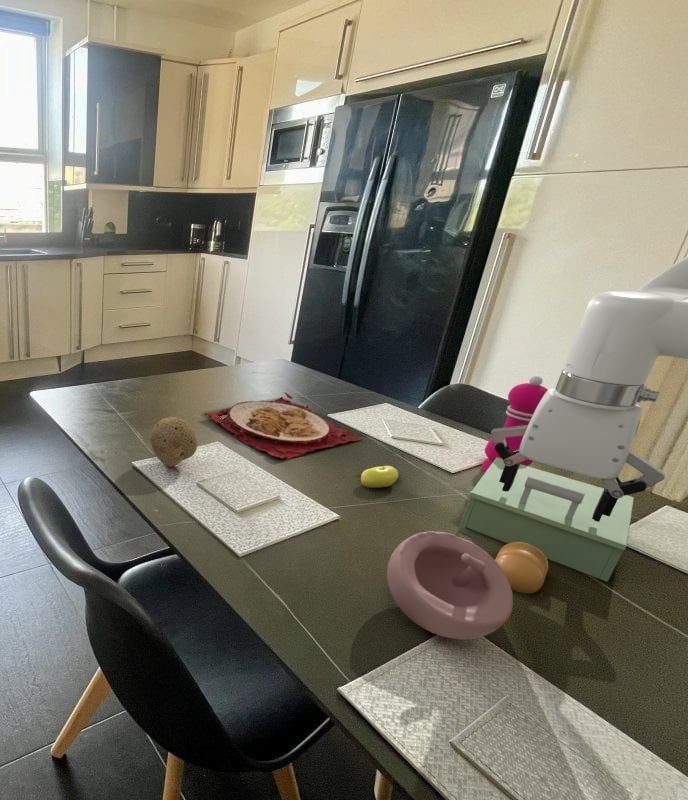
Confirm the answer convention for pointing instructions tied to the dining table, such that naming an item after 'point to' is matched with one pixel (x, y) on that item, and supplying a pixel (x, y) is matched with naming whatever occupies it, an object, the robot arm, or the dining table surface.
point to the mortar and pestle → (449, 585)
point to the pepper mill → (518, 416)
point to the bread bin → (541, 538)
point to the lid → (557, 503)
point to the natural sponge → (173, 441)
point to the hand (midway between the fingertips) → (549, 502)
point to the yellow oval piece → (379, 476)
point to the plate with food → (280, 427)
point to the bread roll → (523, 566)
